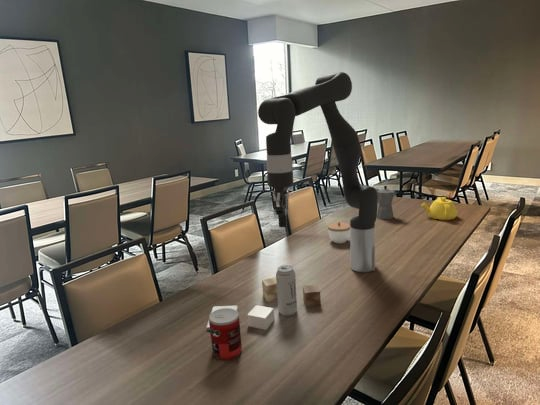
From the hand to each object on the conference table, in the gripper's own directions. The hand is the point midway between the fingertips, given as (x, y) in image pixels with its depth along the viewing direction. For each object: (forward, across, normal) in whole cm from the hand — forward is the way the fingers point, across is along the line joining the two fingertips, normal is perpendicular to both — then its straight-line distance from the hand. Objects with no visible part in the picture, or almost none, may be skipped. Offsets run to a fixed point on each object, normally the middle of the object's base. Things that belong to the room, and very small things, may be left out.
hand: (283, 226), depth 115 cm
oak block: (+29, +9, +7) cm, 31 cm away
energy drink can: (+29, 0, 0) cm, 29 cm away
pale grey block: (+29, -7, +7) cm, 31 cm away
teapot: (+29, +106, -66) cm, 128 cm away
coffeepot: (+29, +107, -37) cm, 117 cm away
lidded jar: (+29, +66, -14) cm, 73 cm away
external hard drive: (+29, -6, +20) cm, 36 cm away
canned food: (+29, -22, +13) cm, 39 cm away
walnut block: (+29, +7, -7) cm, 30 cm away
